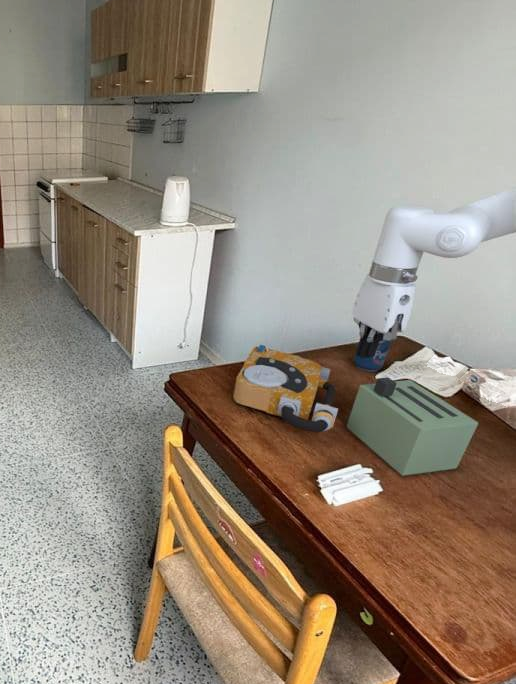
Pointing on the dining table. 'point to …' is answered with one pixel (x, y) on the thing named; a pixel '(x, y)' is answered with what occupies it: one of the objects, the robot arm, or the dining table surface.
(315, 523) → the dining table surface
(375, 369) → the soda can
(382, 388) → the slider
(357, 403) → the toaster
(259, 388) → the device
